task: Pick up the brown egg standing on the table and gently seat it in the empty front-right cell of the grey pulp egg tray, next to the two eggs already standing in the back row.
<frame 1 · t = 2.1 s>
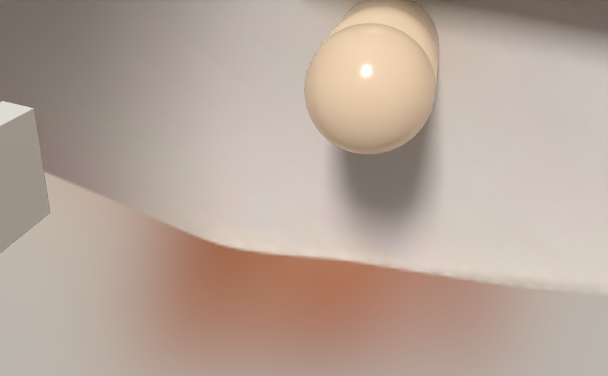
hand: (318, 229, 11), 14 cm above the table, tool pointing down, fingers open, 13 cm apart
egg: (385, 49, 23), on the table
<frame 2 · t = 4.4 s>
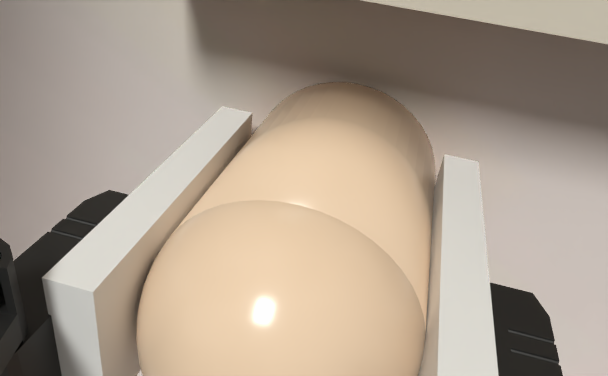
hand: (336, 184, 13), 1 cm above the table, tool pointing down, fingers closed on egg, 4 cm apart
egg: (341, 170, 13), on the table, touching gripper
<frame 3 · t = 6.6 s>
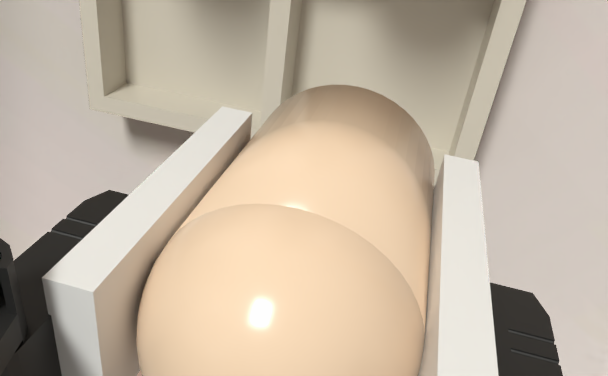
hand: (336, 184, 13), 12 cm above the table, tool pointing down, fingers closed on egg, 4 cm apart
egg: (341, 172, 13), point 11 cm above the table, touching gripper
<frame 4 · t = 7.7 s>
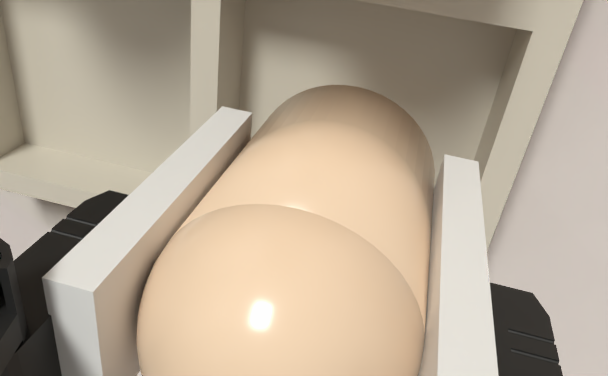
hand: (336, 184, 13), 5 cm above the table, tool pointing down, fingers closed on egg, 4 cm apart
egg: (341, 172, 13), point 4 cm above the table, touching gripper
when the fingers open (3 cm above the table, at t = 8.7 s): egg drops 2 cm, resting on egg tray.
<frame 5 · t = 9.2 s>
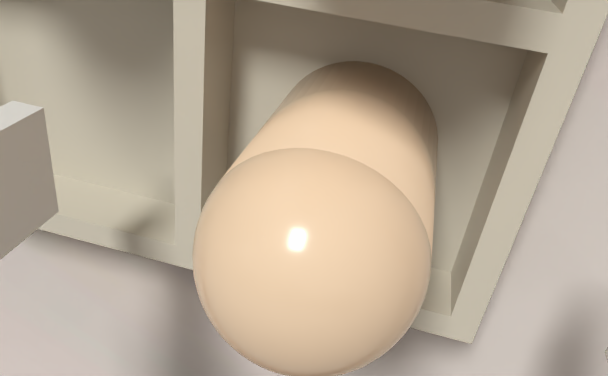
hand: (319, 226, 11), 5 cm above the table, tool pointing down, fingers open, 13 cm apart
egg: (354, 140, 15), resting on egg tray
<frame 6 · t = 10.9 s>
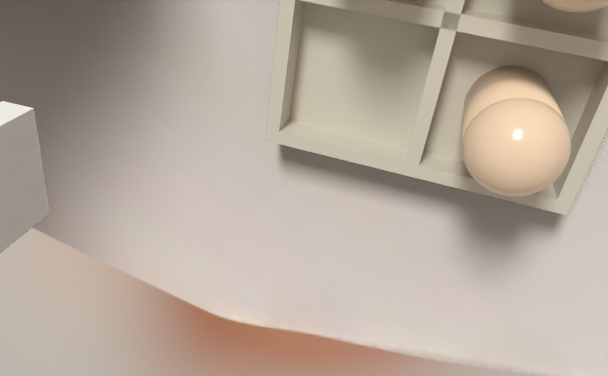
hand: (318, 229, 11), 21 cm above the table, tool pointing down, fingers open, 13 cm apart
egg tray: (451, 12, 28), on the table
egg: (507, 107, 29), resting on egg tray
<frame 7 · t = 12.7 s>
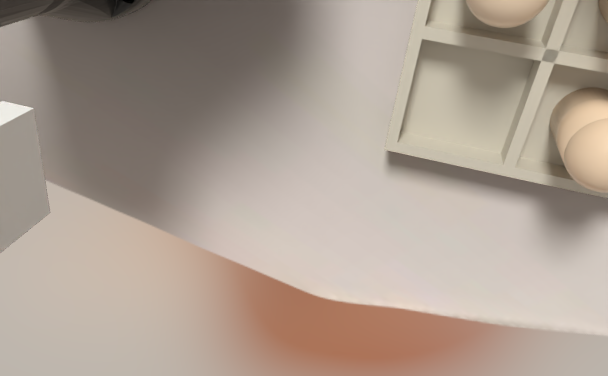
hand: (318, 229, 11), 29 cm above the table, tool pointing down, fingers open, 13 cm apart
egg tray: (544, 45, 35), on the table
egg: (586, 119, 36), resting on egg tray
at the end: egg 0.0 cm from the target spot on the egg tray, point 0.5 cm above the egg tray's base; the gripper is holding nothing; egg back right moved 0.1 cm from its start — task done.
